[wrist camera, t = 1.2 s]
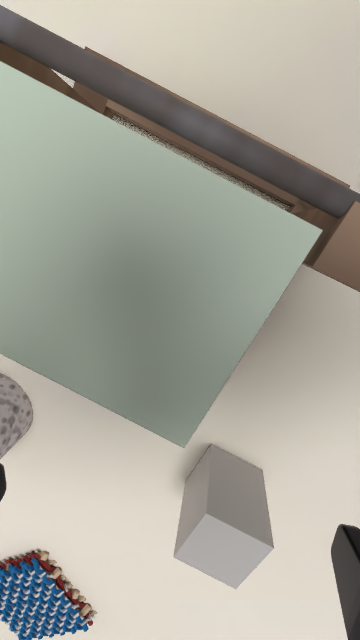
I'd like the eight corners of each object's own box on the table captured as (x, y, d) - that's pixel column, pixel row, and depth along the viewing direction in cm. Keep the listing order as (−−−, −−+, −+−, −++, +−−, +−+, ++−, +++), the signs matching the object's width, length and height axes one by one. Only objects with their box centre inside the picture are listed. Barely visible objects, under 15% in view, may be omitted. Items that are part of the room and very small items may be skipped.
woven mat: (32, 625, 35) (20, 648, 33) (-24, 562, 33) (-39, 582, 31) (102, 611, 32) (94, 635, 30) (47, 541, 30) (35, 562, 28)
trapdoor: (0, 64, 9) (-20, 50, 8) (315, 229, 9) (323, 230, 9) (-53, 311, 12) (-71, 316, 11) (186, 434, 12) (183, 448, 12)
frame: (94, 58, 17) (-78, -162, 7) (341, 188, 17) (492, 140, 7) (27, 279, 21) (-131, 322, 12) (221, 380, 21) (218, 502, 12)
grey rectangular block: (262, 469, 23) (273, 548, 18) (233, 505, 25) (235, 589, 19) (211, 443, 23) (206, 513, 18) (185, 481, 25) (173, 556, 19)
